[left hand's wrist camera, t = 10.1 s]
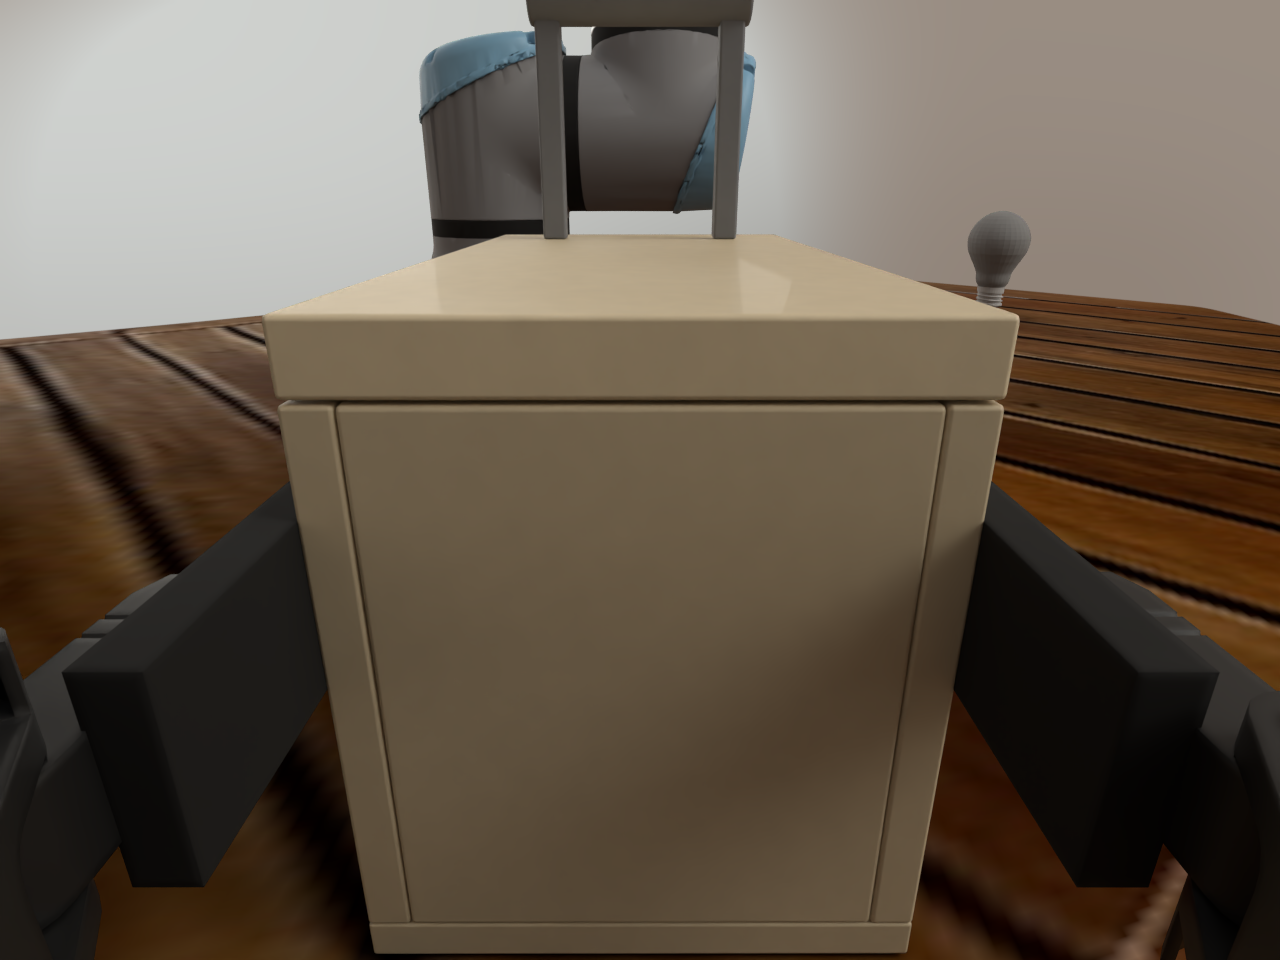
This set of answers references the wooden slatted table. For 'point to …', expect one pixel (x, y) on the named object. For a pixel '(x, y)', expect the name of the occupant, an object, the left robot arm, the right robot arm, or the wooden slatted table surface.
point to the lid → (640, 294)
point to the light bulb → (997, 252)
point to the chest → (640, 662)
